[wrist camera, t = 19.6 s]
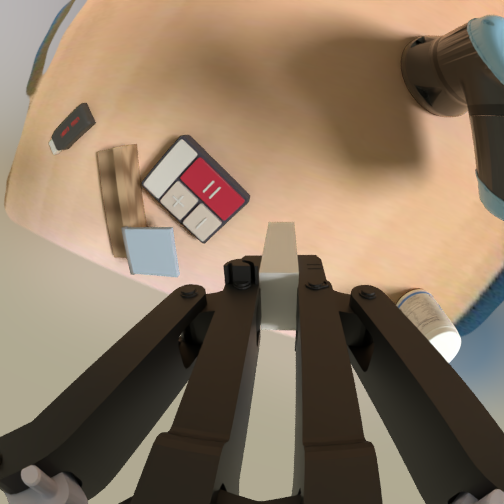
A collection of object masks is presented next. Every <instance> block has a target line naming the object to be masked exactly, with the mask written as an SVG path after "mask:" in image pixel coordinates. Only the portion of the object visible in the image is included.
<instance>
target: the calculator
mask: <svg viewBox="0 0 504 504" xmlns="http://www.w3.org/2000/svg"><path fill="white" fill-rule="evenodd" d="M141 184H142V186H143V187H144V188H145V189H146V190H147V191H148V192H149V193H150V194H151V195H152V196H153V197H154V198H155V199H156V200H157V201H158V202H159V203H161V204H162V205H163V206H164V207H165V208H166V209H167V210H168V211H169V212H170V213H171V214H172V215H173V216H174V217H175V218H176V219H177V220H178V221H179V222H180V223H181V224H182V225H184V226H185V227H186V228H187V229H188V230H189V231H190V232H191V233H192V234H193V235H194V236H195V237H196V238H197V239H198V240H199V241H200V242H202V243H206V242H207V241H208V240H209V239H210V238H211V237H212V236H213V235H214V234H215V233H216V232H217V231H218V230H219V229H221V228H222V227H223V226H224V225H225V224H226V223H227V222H228V221H229V220H230V219H231V218H232V217H233V216H234V215H235V214H236V213H238V212H239V211H240V210H241V209H242V208H243V207H244V206H245V205H246V204H247V203H248V202H249V200H250V195H249V194H248V193H247V192H246V191H245V190H244V189H243V188H242V187H241V186H240V185H239V184H238V183H237V182H236V181H235V180H234V179H233V178H232V177H231V176H230V175H229V174H228V173H227V172H226V171H225V170H224V169H223V168H222V167H221V166H220V165H219V164H218V163H217V162H216V161H215V160H214V159H213V158H212V157H211V156H210V155H209V154H208V153H207V152H206V151H205V150H204V149H203V148H202V147H201V146H200V145H199V144H198V143H197V142H196V141H195V140H194V139H193V138H192V137H191V136H190V135H183V136H180V137H179V138H178V139H177V140H176V142H175V143H174V144H173V145H172V146H171V147H170V148H169V150H168V151H167V152H166V153H165V154H164V155H163V157H162V158H161V159H160V160H159V161H158V163H157V164H156V165H155V166H154V167H153V169H152V170H151V171H150V172H149V174H148V175H147V176H146V177H145V179H144V180H143V181H142V183H141Z"/></svg>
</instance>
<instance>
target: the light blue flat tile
mask: <svg viewBox="0 0 504 504" xmlns="http://www.w3.org/2000/svg"><path fill="white" fill-rule="evenodd" d="M121 230H122V235H123V241H124V246H125V250H126V255H127V260H128V264H129V269H130V273H131V274H132V275H134V274H145V275H157V276H169V277H178V276H179V275H180V272H179V266H178V260H177V254H176V247H175V240H174V233H173V227H128V226H124V227H121Z"/></svg>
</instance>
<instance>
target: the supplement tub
mask: <svg viewBox="0 0 504 504" xmlns="http://www.w3.org/2000/svg"><path fill="white" fill-rule="evenodd" d="M396 306H397V307H398V308H399V309H400V310H401V311H402V312H403V313H404V314H405V315H406V316H407V317H408V319H409V320H410V321H411V322H412V323H413V324H414V325H415V326H416V327H417V328H418V329H419V330H420V332H421V333H422V334H423V335H424V336H425V337H426V338H427V339H428V340H429V341H430V343H431V344H432V345H433V346H434V347H435V348H436V349H437V350H438V352H439V353H440V354H441V355H442V356H443V357H444V358H445V360H446V361H447V362H448V363H449V362H450V361H451V360H452V359H453V358H454V357H455V355H456V354H457V353H458V351H459V348H460V345H461V338H460V336H459V334H458V331H457V330H456V328H455V327H454V325H453V324H452V322H451V321H450V320H449V318H448V317H447V315H446V314H445V313H444V311H443V310H442V309H441V307H440V306H439V304H438V303H437V302H436V300H435V299H434V298H433V296H432V295H431V294H430V293H429V292H427V291H426V290H422V289H416V290H412V291H410V292H408V293H406V294H405V295H404V296H403V297H401V298H400V300H399V301H398V303H397V304H396Z"/></svg>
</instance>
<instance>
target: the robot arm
mask: <svg viewBox="0 0 504 504" xmlns="http://www.w3.org/2000/svg"><path fill="white" fill-rule="evenodd" d="M401 69H402V74H403V78H404V81H405V83H406V85H407V87H408V89H409V91H410V93H411V94H412V96H413V97H414V98H415V100H416V101H417V102H418V103H419V104H420V105H421V106H422V107H424V108H425V109H426V110H428V111H429V112H431V113H433V114H435V115H438V116H441V117H457V116H460V115H463V114H465V113H466V112H467V111H468V112H469V118H470V124H471V130H472V136H473V143H474V151H475V160H476V170H475V171H476V177H477V179H478V189H479V197H480V200H481V202H482V203H483V205H484V207H485V208H486V209H487V210H488V211H489V212H490V213H491V214H493V215H494V216H496V217H497V218H499V219H501V220H503V221H504V18H503V17H500V16H496V15H487V16H484V17H481V18H474V19H471V20H470V21H469V22H468V23H466V24H464V25H462V26H460V27H458V28H456V29H455V30H453V31H451V32H449V33H447V34H445V35H444V36H422V37H419V38H417V39H415V40H413V41H412V42H410V43H409V44H408V45H407V46H406V48H405V49H404V51H403V54H402V59H401ZM478 115H479V116H478ZM480 115H485V116H480ZM486 115H490V116H486ZM224 275H225V287H224V289H223V291H220V292H217V293H211V294H206V292H205V289H204V288H203V287H202V286H199V285H193V284H189V285H184V286H182V287H179V288H177V289H176V290H174V291H173V292H172V293H171V294H170V295H169V296H168V297H167V298H165V299H164V300H163V301H162V302H161V303H160V304H159V305H157V306H156V307H155V308H154V309H153V310H152V311H151V312H150V313H148V315H146V316H145V317H144V318H143V319H142V320H141V321H140V322H139V323H137V324H136V325H135V326H134V327H133V328H132V329H131V330H130V331H128V332H127V333H126V334H125V335H124V336H123V337H122V338H121V339H120V340H118V341H117V342H116V343H115V344H114V345H113V346H112V347H111V348H110V349H109V350H108V351H106V352H105V353H104V354H103V355H102V356H101V357H100V358H99V359H98V360H97V361H95V363H93V364H92V365H91V366H90V367H89V368H88V369H87V370H86V371H85V372H84V373H83V374H81V375H80V376H79V377H78V378H77V379H76V380H75V381H74V382H73V383H72V384H71V385H70V386H69V387H68V388H67V389H65V390H64V392H62V393H61V394H60V395H59V396H58V397H57V398H56V399H55V400H54V401H53V402H52V403H51V404H50V405H49V406H48V407H47V408H46V409H45V410H43V411H42V412H41V413H40V414H39V415H38V416H37V417H36V418H35V419H34V420H33V421H32V422H30V423H28V424H26V425H24V426H22V427H20V428H18V429H16V430H14V431H12V432H10V433H8V434H6V435H4V436H2V437H0V489H1V490H2V491H3V492H4V493H5V495H6V497H7V499H8V502H9V504H88V500H89V499H91V498H93V497H94V496H96V495H97V494H98V493H99V492H100V491H102V490H103V489H104V488H105V487H106V486H107V485H108V484H109V483H110V482H111V480H113V478H114V477H115V476H116V475H117V473H118V472H119V471H120V470H121V468H122V467H123V466H124V465H125V463H126V462H127V461H128V459H129V458H130V457H131V455H132V454H133V453H134V452H135V450H136V449H137V448H138V446H139V445H140V444H141V443H142V441H143V440H144V439H145V437H146V436H147V435H148V434H149V432H150V431H151V430H152V428H153V427H154V426H155V424H156V423H157V422H158V420H159V419H160V418H161V416H162V415H163V414H164V412H165V411H166V410H167V408H168V407H169V406H170V404H171V403H172V402H173V400H174V399H175V398H176V396H177V395H178V394H179V392H180V391H181V390H182V388H183V387H184V386H185V384H186V383H187V381H188V380H189V381H188V384H187V386H186V389H185V392H184V395H183V397H182V400H181V403H180V405H179V408H178V411H177V413H176V416H175V419H174V421H173V424H172V427H171V429H170V430H169V431H168V432H163V433H160V434H159V435H158V436H157V438H156V440H155V442H154V443H153V446H152V448H151V451H150V453H149V456H148V459H147V461H146V464H145V466H144V469H143V471H142V474H141V477H140V479H139V482H138V484H137V487H136V490H135V493H134V495H133V496H132V497H130V498H128V499H126V500H125V501H123V502H121V503H119V504H382V495H381V486H380V478H379V472H378V464H377V457H376V453H375V449H374V446H373V444H372V443H371V442H368V441H366V440H365V438H364V433H363V428H362V421H361V415H360V409H359V404H358V398H357V393H356V388H355V383H354V377H353V373H352V368H351V365H352V366H353V368H354V370H355V372H356V373H357V375H358V377H359V379H360V381H361V382H362V384H363V386H364V388H365V389H366V391H367V393H368V395H369V397H370V399H371V400H372V402H373V404H374V406H375V408H376V409H377V412H378V413H379V415H380V417H381V419H382V420H383V423H384V425H385V426H386V428H387V430H388V432H389V434H390V436H391V438H392V439H393V441H394V443H395V445H396V447H397V449H398V451H399V453H400V455H401V457H402V459H403V461H404V463H405V465H406V466H407V469H408V471H409V473H410V474H411V476H412V478H413V480H414V483H415V485H416V487H417V489H418V490H419V493H420V494H421V496H422V498H423V499H424V501H425V503H426V504H504V433H503V431H502V430H501V429H500V427H499V426H498V425H497V423H496V422H495V420H494V419H493V418H492V417H491V415H490V414H489V412H488V411H487V410H486V409H485V407H484V406H483V405H482V404H481V402H480V401H479V400H478V398H477V397H476V396H475V394H474V393H473V392H472V391H471V390H470V388H469V387H468V386H467V385H466V383H465V382H464V381H463V380H462V378H461V377H460V376H459V375H458V374H457V373H456V371H455V370H454V369H453V368H452V367H451V365H450V364H449V363H448V362H447V361H446V360H445V358H444V357H443V356H442V355H441V354H440V353H439V352H438V350H437V349H436V348H435V347H434V346H433V345H432V344H431V343H430V341H429V340H428V339H427V338H426V337H425V336H424V335H423V334H422V333H421V332H420V330H419V329H418V328H417V327H416V326H415V325H414V324H413V323H412V322H411V321H410V320H409V319H408V317H407V316H406V315H405V314H404V313H403V312H402V311H401V310H400V309H399V308H398V307H397V306H396V305H395V304H394V303H393V302H392V301H391V300H390V299H389V298H388V297H387V296H386V295H385V294H384V293H383V292H382V291H381V290H380V289H378V288H376V287H373V286H371V285H360V286H357V287H354V288H353V289H352V291H351V295H350V294H344V293H340V292H337V291H334V290H333V288H332V285H331V283H330V282H329V281H327V280H326V277H325V273H324V269H323V265H322V261H321V259H320V258H319V257H317V256H316V255H297V246H296V235H295V225H294V222H269V224H268V229H267V234H266V239H265V244H264V250H263V255H262V256H244V257H243V258H242V259H235V260H231V261H229V262H227V263H226V264H225V265H224ZM260 325H261V330H296V340H295V351H296V422H295V423H296V424H295V455H294V478H293V489H292V496H290V497H285V498H280V499H274V500H268V501H255V500H251V499H248V498H245V497H242V496H239V479H240V472H241V465H242V460H243V453H244V447H245V441H246V434H247V427H248V421H249V415H250V408H251V401H252V394H253V387H254V380H255V373H256V366H257V359H258V352H259V344H260ZM180 335H181V336H180Z"/></svg>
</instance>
